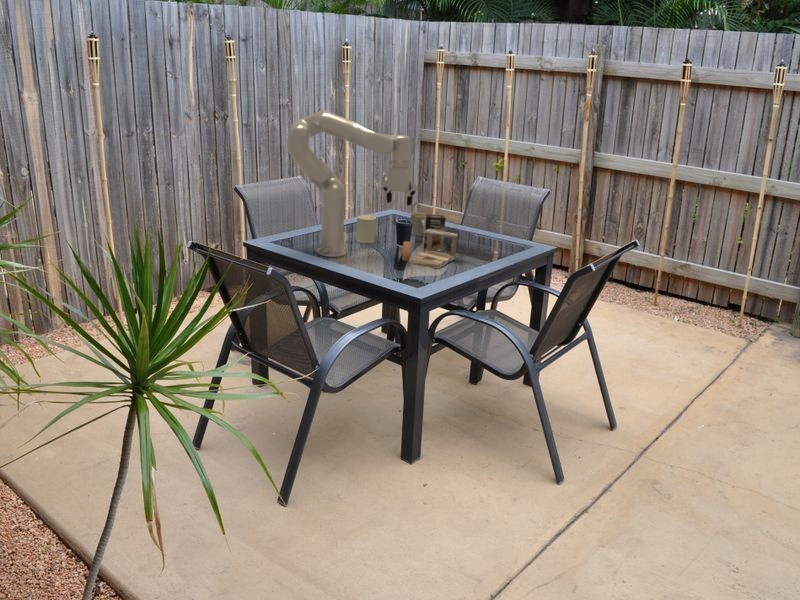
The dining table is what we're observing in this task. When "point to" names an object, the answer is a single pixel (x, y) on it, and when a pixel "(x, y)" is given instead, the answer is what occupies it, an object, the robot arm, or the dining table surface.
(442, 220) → the coffee box
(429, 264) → the socket block
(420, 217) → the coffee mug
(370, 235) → the can
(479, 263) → the dining table surface
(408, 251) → the peg
